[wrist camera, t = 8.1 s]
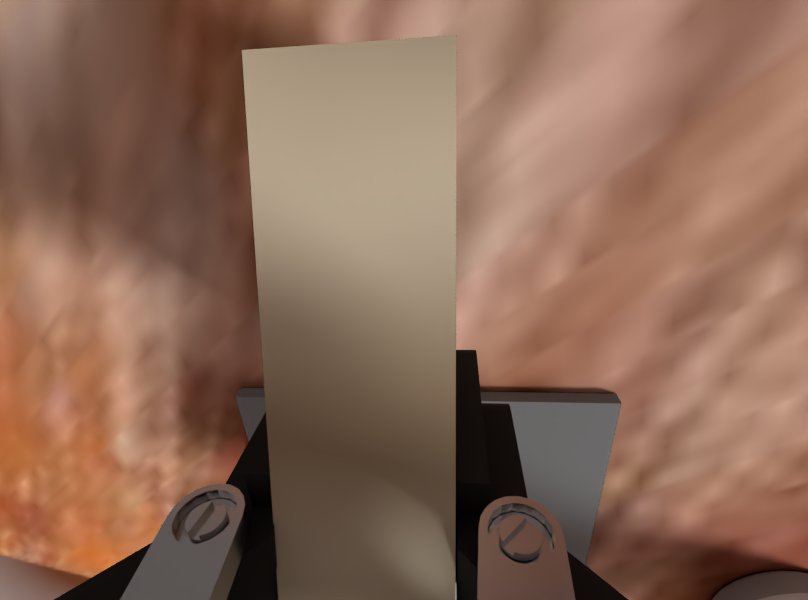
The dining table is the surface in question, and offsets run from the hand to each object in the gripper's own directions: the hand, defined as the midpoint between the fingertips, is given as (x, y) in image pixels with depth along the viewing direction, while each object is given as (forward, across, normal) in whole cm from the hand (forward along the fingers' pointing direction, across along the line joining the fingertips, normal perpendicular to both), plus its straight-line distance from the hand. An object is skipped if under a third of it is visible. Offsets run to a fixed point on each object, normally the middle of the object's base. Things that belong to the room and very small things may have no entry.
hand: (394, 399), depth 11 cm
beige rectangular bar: (0, 0, +2) cm, 2 cm away
